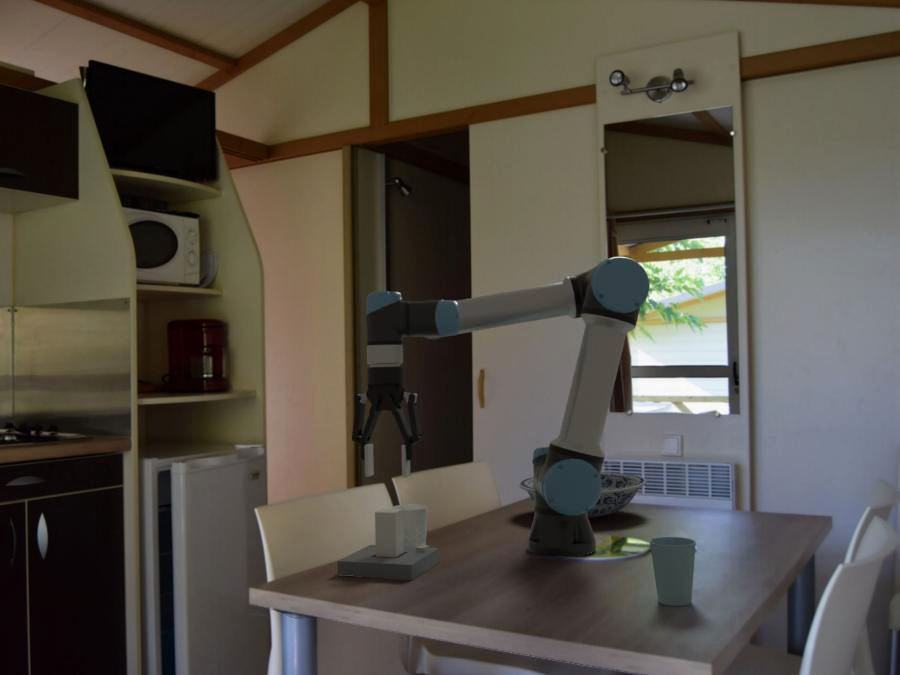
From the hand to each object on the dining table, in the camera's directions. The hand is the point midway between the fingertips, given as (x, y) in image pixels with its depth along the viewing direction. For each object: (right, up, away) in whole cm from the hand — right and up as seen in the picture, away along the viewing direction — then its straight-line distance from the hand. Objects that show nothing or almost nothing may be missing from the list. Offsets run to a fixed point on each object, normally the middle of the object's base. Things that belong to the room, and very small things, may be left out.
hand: (387, 475), depth 178 cm
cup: (+52, -17, -31) cm, 62 cm away
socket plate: (0, -19, -1) cm, 19 cm away
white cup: (+4, -20, +16) cm, 26 cm away
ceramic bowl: (+49, -20, +56) cm, 77 cm away
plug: (+1, -19, -1) cm, 19 cm away
